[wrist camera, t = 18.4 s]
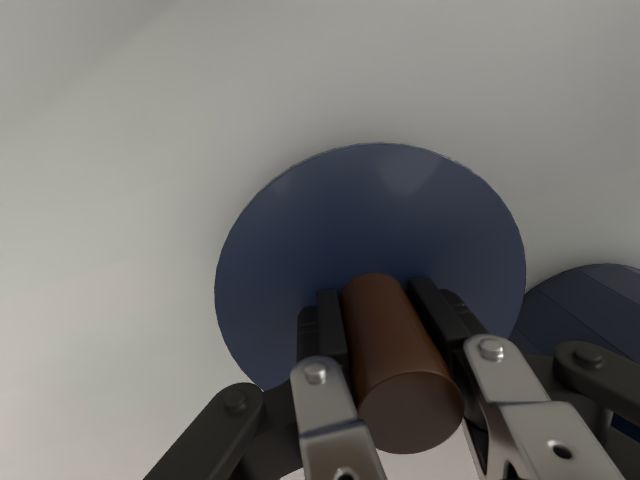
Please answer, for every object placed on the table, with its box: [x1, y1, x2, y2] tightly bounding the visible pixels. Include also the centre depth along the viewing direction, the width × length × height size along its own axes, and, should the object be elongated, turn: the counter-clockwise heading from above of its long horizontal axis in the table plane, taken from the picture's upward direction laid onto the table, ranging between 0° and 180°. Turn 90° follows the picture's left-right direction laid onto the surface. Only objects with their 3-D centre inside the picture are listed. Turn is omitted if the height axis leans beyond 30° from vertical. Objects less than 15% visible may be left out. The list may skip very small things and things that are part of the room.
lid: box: [214, 142, 526, 454], centre depth 11 cm, size 11×11×6 cm
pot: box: [507, 264, 640, 443], centre depth 17 cm, size 10×10×6 cm
